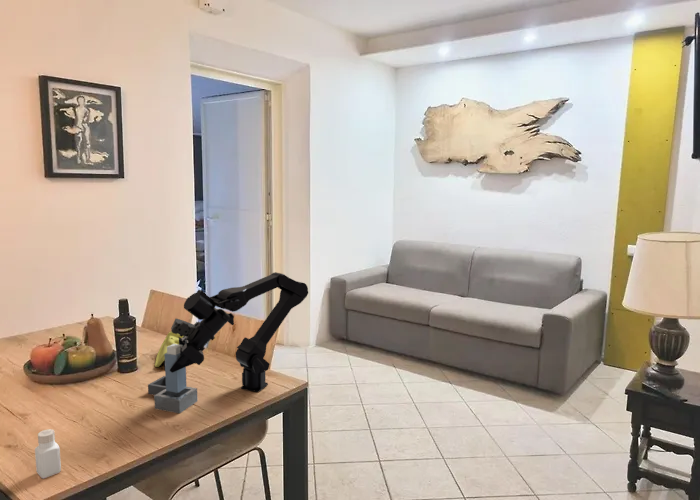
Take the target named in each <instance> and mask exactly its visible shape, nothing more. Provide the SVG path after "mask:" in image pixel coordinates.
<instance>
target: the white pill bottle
mask: <svg viewBox="0 0 700 500" xmlns="http://www.w3.org/2000/svg"><path fill="white" fill-rule="evenodd" d="M55 437H56V433H55V430H54V429H52V428H51V429H50V428H49V429H43V430H42V431H40V432H39V433H37V442H38V445H37V446H36V447H34V456H35V468H36V469H35V470H36V473H37V474H38V475H39V477H40V478H41V479H47V478H48V477H52V476H54V475H56V474H59V473H60V472H61V470H62V467H61V450H60V446H59V444H58V443H57V442H56V441H55V440H56V438H55Z"/></svg>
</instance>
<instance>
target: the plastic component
mask: <svg viewBox="0 0 700 500" xmlns="http://www.w3.org/2000/svg"><path fill="white" fill-rule="evenodd" d="M179 337H180V338H182V337H183V336H182V337H181V336H180V334H174V333H172V332H171V331H169V332H168V333H167V334H166V337H165V339H164V340H163V341H162V344H161V346H160V348H159V349H158V353H157V355H156V357H155V361H154V368H159V367H160V366H161V365H162V364H163V363H164V362H165V354H166V353H167V347H168V346H170V345H172V344H179Z"/></svg>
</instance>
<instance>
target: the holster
mask: <svg viewBox="0 0 700 500" xmlns="http://www.w3.org/2000/svg"><path fill="white" fill-rule="evenodd" d="M165 389H166V377H165V375H162V377H159V378H157V379H155V380H154V381H152V382H150V383H148V384H147V394H148V395H151V396H154V395H156V394H158V393H159V392H161V391H163V390H165Z"/></svg>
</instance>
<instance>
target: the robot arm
mask: <svg viewBox="0 0 700 500" xmlns="http://www.w3.org/2000/svg"><path fill="white" fill-rule="evenodd" d="M275 289H279V290H280V293H279V298H278V299H279V300H278V302H277V303H276V304H275V306H274V307H273V308H272V310H271V311H270V312H269V314H268V316H267V317H266V318H265V320H264V321H263V322H262V324H261V325H260V327H259V328H258V329H257V331H256V332H255V334H254V335H253V336H252V337H250V338H247V337H244V338H243V339H242V341H241V343H240V344H239V345H237V347H236V352H235V359H236V361H237V363H239V365H240V367H241V368H243V369H242V373H241V384H242V386H241V387H240V389H241V390H244V391H250V392H256V393H259V392H261V391H262V390H263V389H264V388H266V387H267V386H268V385H269V383H268V382H266V371H268V370H269V369H270V363H269V362H268V361H267V360H266V359H265V355H266V352H267V345H268V343H269V342H270V341H271V339H272V338H273V336H274V335H275V334H276V332H277V330H278V329H279V328H280V326H281V325H282V323H283V322H284V321H285V319H286V317H287V316H288V314H289V313H290V312H291V310H292V309H293V308H295V307H297V306H298V305H300V304H302V303H303V301H304V300H305V299H306V298H307V296H308V294H309V288H308V285H307V284H306V283H305V282H302V281H297V280H294V279H293V278H290V277H289V276H287V275H286V274H284V273H280V272H272V273H271V274H269V275H267V276H264V277H262V278H260V279H257V280H255V281H253V282H249V283H248V284H245V285H243V286H238V287H236V286H235V287H230V288H229V287H228V288H224V289H222V290H219V291H218V292H217V294H215V295H211V296H210V295H209V296H208V295H207V293H206V292H205V291H203V290H201V289H198V290H197V291H196V292H194V293H192V294H191V295H190V296H189V297H187V298H186V299H185V301H184V303H183V309H184V310H185V311H187V312H188V313H190V314H191V315H192V316H194V317H195V318H196V319H198V321H196V322H194V324H193V323H191V322H189V321H185V320H183V319H179V318H175V319H174V321H173V324H172V325H171V326H170V327H171V328H170V330H171V331H170V332H172V333H174V334H180V336H181V337H182V336H183V337H182V338H180V337H179V345H182V348H181V347H180V356H179V357H178V358H177V360H176V361H175V363H174V364H173V365H172V367H171V368H170V371H171V372H172V373H173V372H175V371H177V370H180V369H182V368H184V367H186V368H187V367H189V366H191V365H194V364H196V365H198V366H200V365H201V364H202V363H203V362H204V361H205V354H204V350H205V349H206V348H205V346H206V345H207V344H208V343H210V341H214V339H216V337H215V336H216V335H217V334H218V332H220V330H221V329H222V328H224V326H225V325H226V324H227V323H229V324H230V325H231V326H234V324H235V322H234V321H235V320H234V318H235V315H234V314H233V313H232V312H234V313H235V312H238V311H240V310H241V309H242V308H243V307H245V306H246V305H247V304H248V302H249V301H251V300H253V299H254V298H257V297H259V296H261V295H263V294H265V293H268V292H271V291H272V290H275ZM216 307H217V308H216ZM225 310H226V311H229V313H227V312H226V311H225Z"/></svg>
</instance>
